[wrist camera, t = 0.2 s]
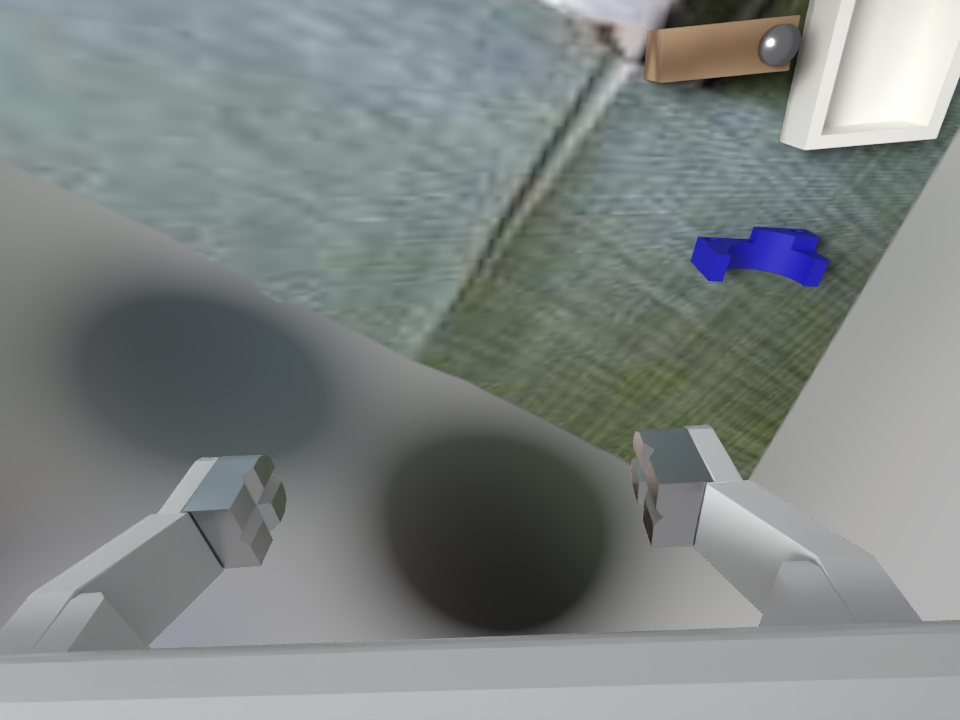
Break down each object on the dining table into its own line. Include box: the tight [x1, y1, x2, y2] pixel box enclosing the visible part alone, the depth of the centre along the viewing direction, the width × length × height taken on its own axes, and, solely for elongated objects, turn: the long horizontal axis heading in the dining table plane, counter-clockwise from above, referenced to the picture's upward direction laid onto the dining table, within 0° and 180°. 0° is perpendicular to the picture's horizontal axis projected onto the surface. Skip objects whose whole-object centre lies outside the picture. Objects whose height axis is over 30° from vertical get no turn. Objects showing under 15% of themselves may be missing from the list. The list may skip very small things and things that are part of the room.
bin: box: [779, 0, 960, 150], centre depth 44 cm, size 18×12×5 cm, turn 5°
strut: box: [644, 15, 801, 83], centre depth 45 cm, size 4×11×7 cm, turn 95°
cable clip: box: [691, 227, 829, 287], centre depth 55 cm, size 12×4×6 cm, turn 87°
